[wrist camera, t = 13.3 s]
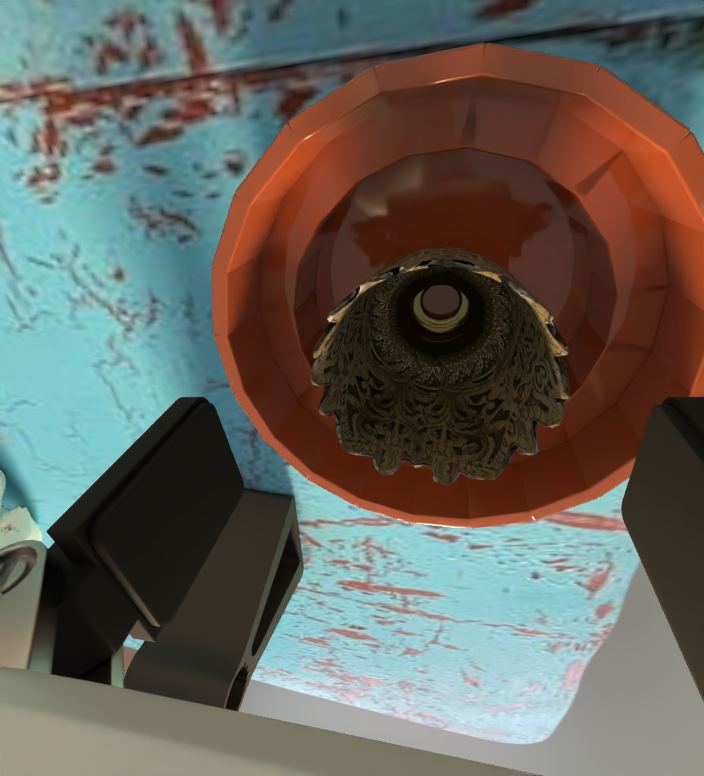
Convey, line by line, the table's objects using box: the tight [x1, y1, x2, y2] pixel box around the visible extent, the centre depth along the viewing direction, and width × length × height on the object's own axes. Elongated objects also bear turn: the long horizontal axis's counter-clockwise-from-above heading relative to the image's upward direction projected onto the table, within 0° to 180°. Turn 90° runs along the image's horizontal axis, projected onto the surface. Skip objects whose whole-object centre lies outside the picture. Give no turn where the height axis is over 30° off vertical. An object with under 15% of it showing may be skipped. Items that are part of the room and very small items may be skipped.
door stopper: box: [124, 489, 303, 711], centre depth 26 cm, size 9×6×12 cm, turn 0°
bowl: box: [212, 43, 704, 528], centre depth 16 cm, size 16×16×6 cm
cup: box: [311, 246, 570, 485], centre depth 15 cm, size 8×7×8 cm
